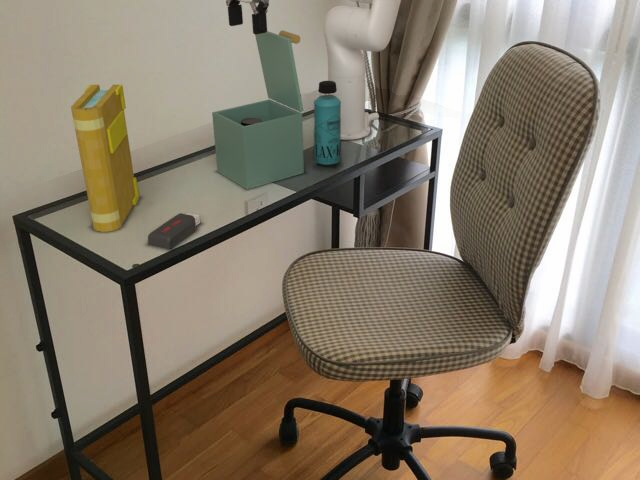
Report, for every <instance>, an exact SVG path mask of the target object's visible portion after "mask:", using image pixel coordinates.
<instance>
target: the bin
mask: <svg viewBox="0 0 640 480" xmlns="http://www.w3.org/2000/svg"><path fill="white" fill-rule="evenodd" d="M211 115H212V126H213V137H214V150H215V160H216V171H217V172H218V173H219V174H221V175H223V176H224V177H226V178H227V179H229V180H231V181H232V182H234V183H235V184H237V185H239V186H241V187H243V188H244V189H246V190H251V189H254V188H257V187H261V186H264V185H268V184H271V183H274V182H278V181H282V180H286V179H288V178H293V177H296V176H300V175H303V174H305V165H304V164H305V163H304V132H303V131H304V129H303V128H304V127H303V113H302V112H300V111H297V110H295V109H293V108H290V107H288V106H286V105H283V104H281V103H279V102H276V101H274V100H272V99H270V98H268V99H265V100H261V101H257V102H252V103H247V104H243V105H239V106H235V107H229V108H225V109H221V110H217V111H213V112H211ZM246 118H259V119H261V120H262V122H260V123H256V124H252V125H248V126H243V125H241V120H243V119H246Z"/></svg>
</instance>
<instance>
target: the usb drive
mask: <svg viewBox="0 0 640 480" xmlns="http://www.w3.org/2000/svg"><path fill="white" fill-rule="evenodd" d="M199 224H201V220H200V215H199V214H195V213H190V212H185V213H178V214H176V215H174V216H173V217H171V218H170V219H168V220H167V221H165V222H164V223H163V224H161V225H160V226H157V228H155V229H154V230H152V231H151V232H150V233H148V235H147V244H148V245H151V246H155V247H159V248H164V249H167V250H172V249H173V248H174V247H176V246H177V245H179V244H180V243H182V242H183V241H185V240H186V239H187V238H189V237H190V236H191V235H192V234H194V233H195V232H196V230H197V226H198V225H199Z"/></svg>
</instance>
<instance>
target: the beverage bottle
mask: <svg viewBox="0 0 640 480" xmlns="http://www.w3.org/2000/svg"><path fill="white" fill-rule="evenodd" d="M336 91H337V89H336V83H335V82H334V81H328V80H322V81H319V82H318V93H319V94H323V95H319V96H318V97H317V98H315V100H314V101H313V111H314V113H313V115H314V117H313V118H314V119H313V122H314V123H313V124H314V125H313V159H314V160H315V163H317V164H319V165H329V166H330V165H335V164H337V163H339V162H340V161H341V157H342V155H341V154H342V140H340V138H341V119H340V117H341V101H340V100H339V99H338V98H337V97H336V96H334V95H328V94H332V93H335V92H336Z"/></svg>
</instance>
